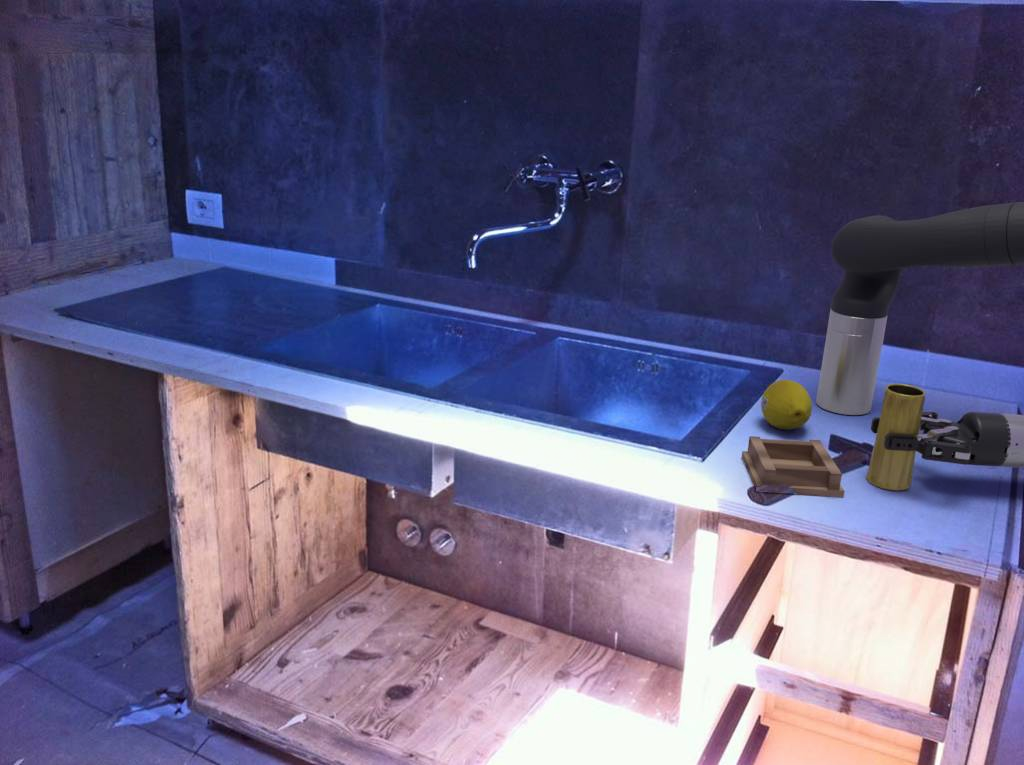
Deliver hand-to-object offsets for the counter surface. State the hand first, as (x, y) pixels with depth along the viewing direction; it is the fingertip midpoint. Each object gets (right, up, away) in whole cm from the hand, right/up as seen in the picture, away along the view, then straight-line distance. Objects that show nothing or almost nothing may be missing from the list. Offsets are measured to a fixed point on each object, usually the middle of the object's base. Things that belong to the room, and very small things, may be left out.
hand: (879, 433), depth 133 cm
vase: (+2, -7, +2) cm, 8 cm away
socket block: (-12, -6, +3) cm, 14 cm away
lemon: (-8, -1, +21) cm, 22 cm away
